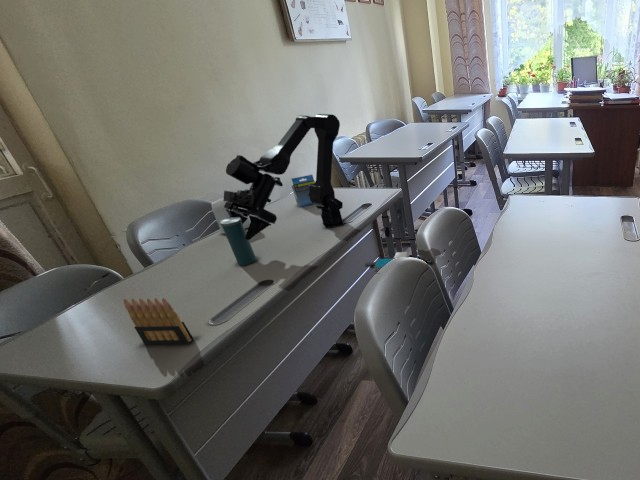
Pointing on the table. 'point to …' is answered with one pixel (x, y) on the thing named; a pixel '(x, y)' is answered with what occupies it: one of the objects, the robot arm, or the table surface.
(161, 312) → the ammunition clip
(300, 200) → the label tape box
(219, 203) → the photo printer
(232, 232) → the tin
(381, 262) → the phone stand
